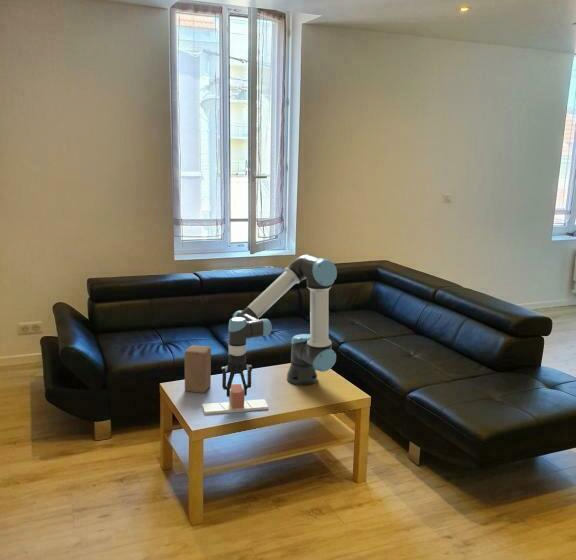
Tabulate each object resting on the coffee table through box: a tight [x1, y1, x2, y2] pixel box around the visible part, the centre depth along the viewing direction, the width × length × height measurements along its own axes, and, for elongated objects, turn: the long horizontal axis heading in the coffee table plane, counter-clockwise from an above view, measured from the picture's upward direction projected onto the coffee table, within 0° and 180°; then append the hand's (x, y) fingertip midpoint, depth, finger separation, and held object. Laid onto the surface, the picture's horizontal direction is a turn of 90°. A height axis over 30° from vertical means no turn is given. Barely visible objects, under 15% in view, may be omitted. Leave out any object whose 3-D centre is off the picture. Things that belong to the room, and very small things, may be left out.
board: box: [202, 398, 269, 415], centre depth 255 cm, size 28×8×1 cm, turn 105°
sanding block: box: [231, 383, 245, 410], centre depth 254 cm, size 5×9×8 cm, turn 14°
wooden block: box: [184, 344, 212, 394], centre depth 272 cm, size 10×10×20 cm
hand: (236, 402), depth 255 cm, fingers closed on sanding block, 5 cm apart
